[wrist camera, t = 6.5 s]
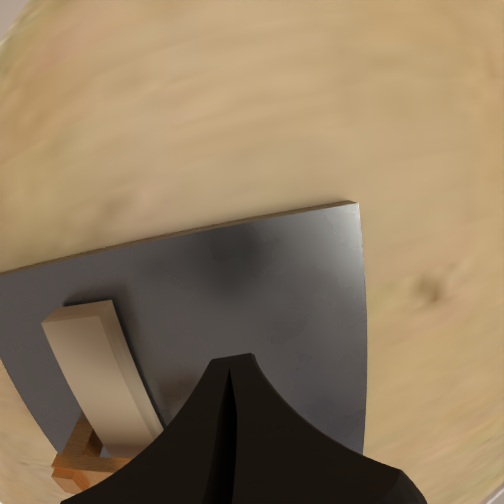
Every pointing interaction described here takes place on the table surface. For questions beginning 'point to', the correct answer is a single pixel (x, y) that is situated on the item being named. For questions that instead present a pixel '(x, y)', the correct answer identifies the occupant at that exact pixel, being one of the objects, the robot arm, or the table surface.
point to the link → (103, 376)
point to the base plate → (203, 323)
